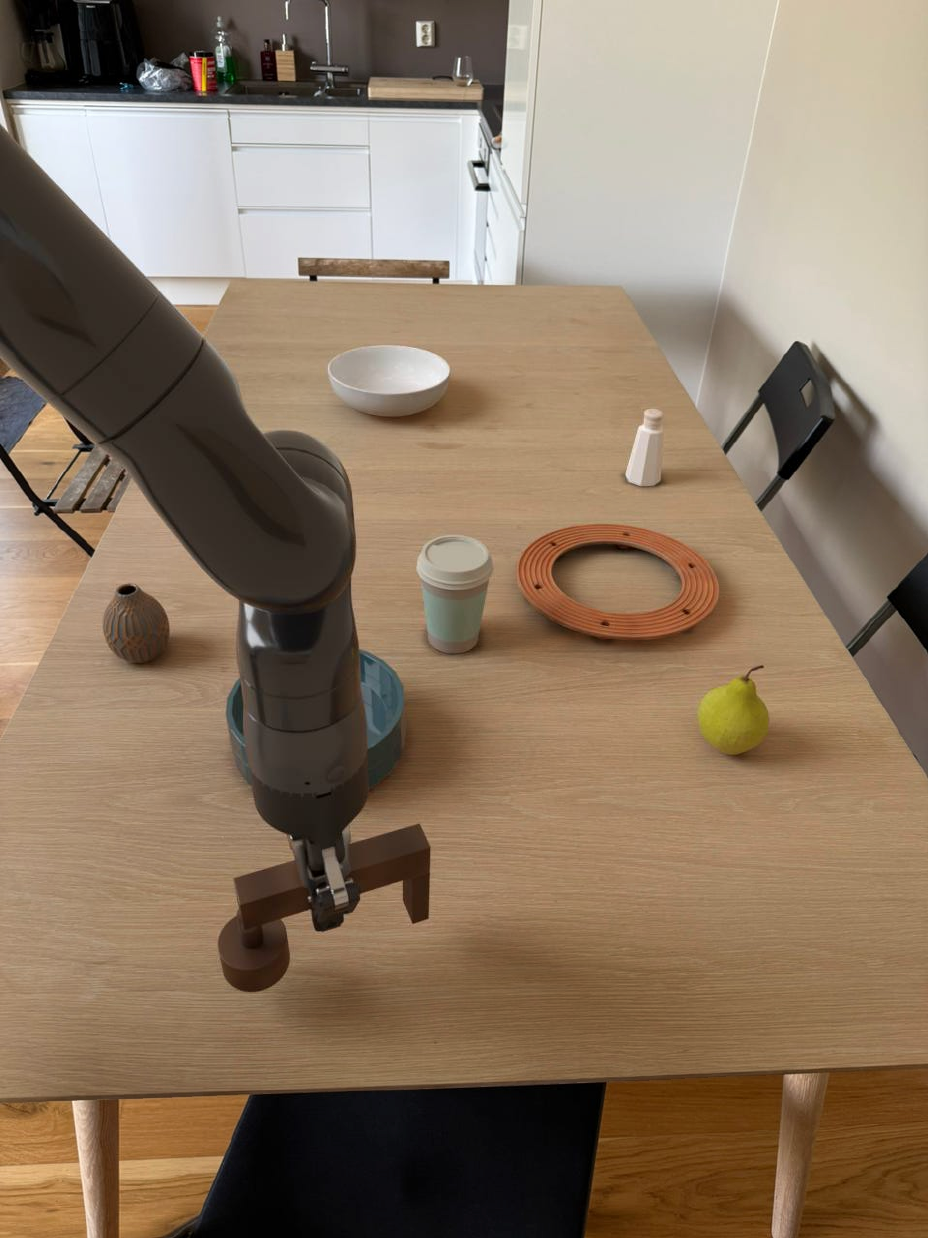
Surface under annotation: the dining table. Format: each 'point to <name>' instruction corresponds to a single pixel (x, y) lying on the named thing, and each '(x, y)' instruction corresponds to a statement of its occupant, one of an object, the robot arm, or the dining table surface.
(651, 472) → the pepper shaker
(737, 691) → the fruit
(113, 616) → the vase
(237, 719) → the mixing bowl
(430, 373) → the serving bowl
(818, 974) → the dining table surface
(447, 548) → the coffee cup
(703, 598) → the ring
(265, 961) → the brown wooden bracket
